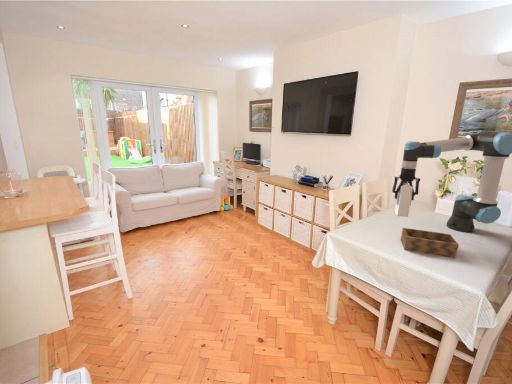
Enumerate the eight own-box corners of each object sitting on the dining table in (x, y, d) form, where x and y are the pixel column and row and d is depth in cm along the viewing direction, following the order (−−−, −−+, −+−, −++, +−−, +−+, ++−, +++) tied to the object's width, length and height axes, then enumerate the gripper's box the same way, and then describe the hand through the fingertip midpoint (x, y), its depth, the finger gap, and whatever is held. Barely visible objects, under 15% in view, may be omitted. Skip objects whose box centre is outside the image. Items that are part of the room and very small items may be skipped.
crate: (447, 247, 147) (450, 234, 145) (455, 258, 135) (458, 244, 133) (400, 239, 156) (402, 227, 154) (404, 249, 143) (406, 236, 141)
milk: (397, 216, 158) (402, 181, 152) (394, 212, 163) (399, 179, 158) (408, 217, 156) (413, 182, 150) (405, 213, 162) (410, 180, 156)
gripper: (426, 167, 152) (419, 204, 158) (390, 165, 159) (385, 201, 165) (429, 169, 145) (422, 208, 151) (391, 167, 152) (386, 204, 158)
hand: (402, 204), depth 158 cm, fingers closed on milk, 6 cm apart
